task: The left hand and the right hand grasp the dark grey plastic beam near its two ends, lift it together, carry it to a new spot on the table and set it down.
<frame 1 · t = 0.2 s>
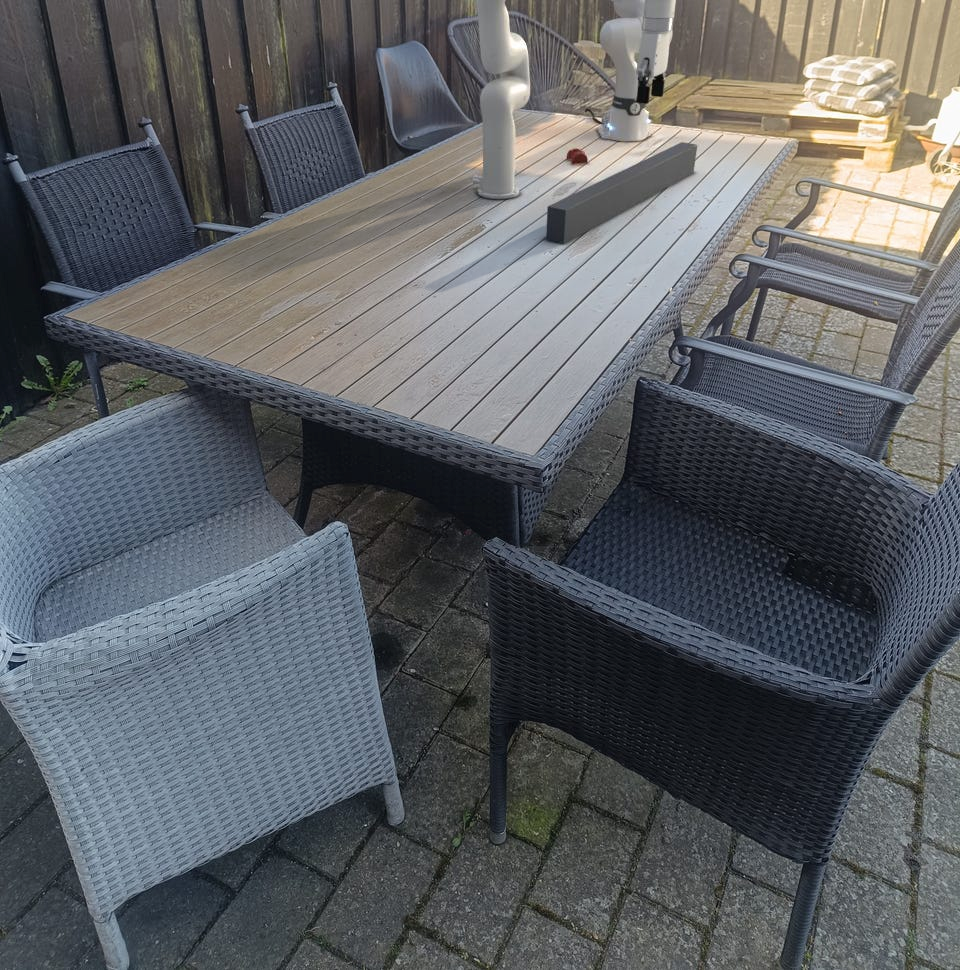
left hand: (649, 99, 219), 31 cm above the table, tool pointing down, fingers open, 9 cm apart
beam: (627, 202, 248), on the table
dark red rounded lump: (576, 162, 284), on the table
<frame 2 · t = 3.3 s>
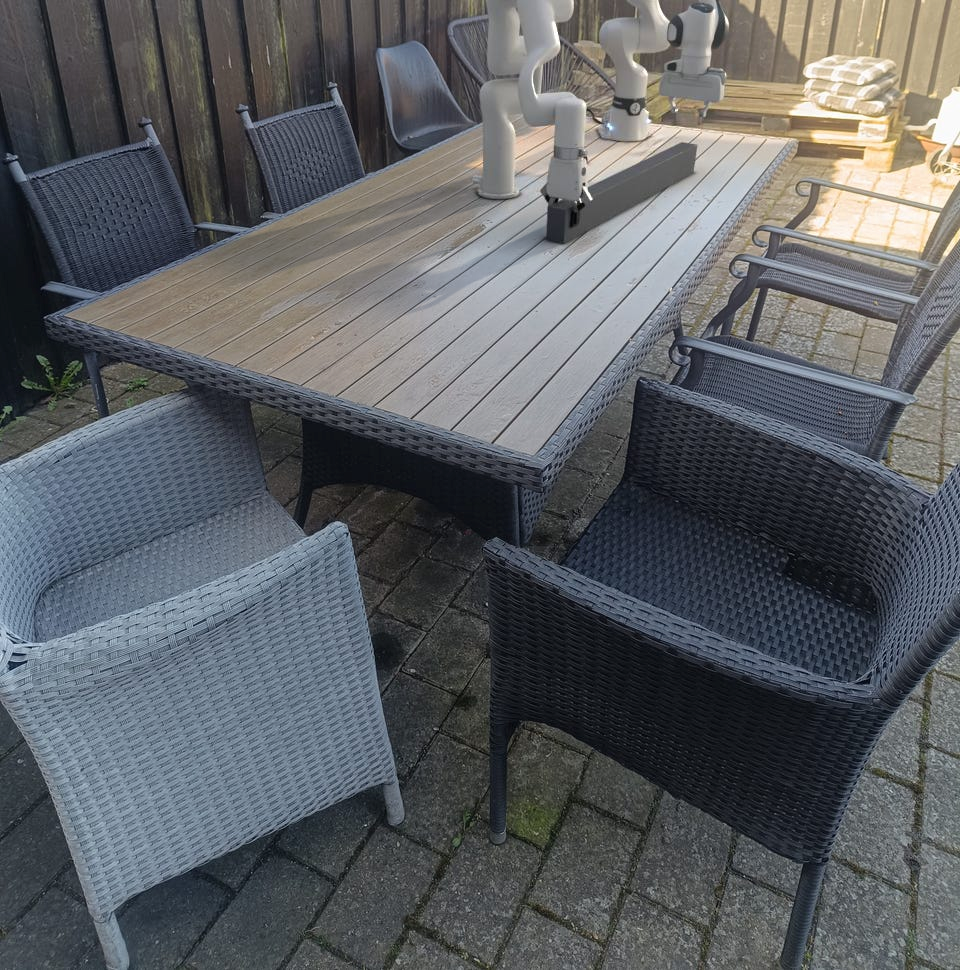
left hand: (564, 223, 222), 4 cm above the table, tool pointing down, fingers closed on beam, 5 cm apart
right hand: (688, 114, 261), 18 cm above the table, tool pointing down, fingers open, 8 cm apart
beam: (627, 202, 248), on the table, touching left hand
everything else where it was.
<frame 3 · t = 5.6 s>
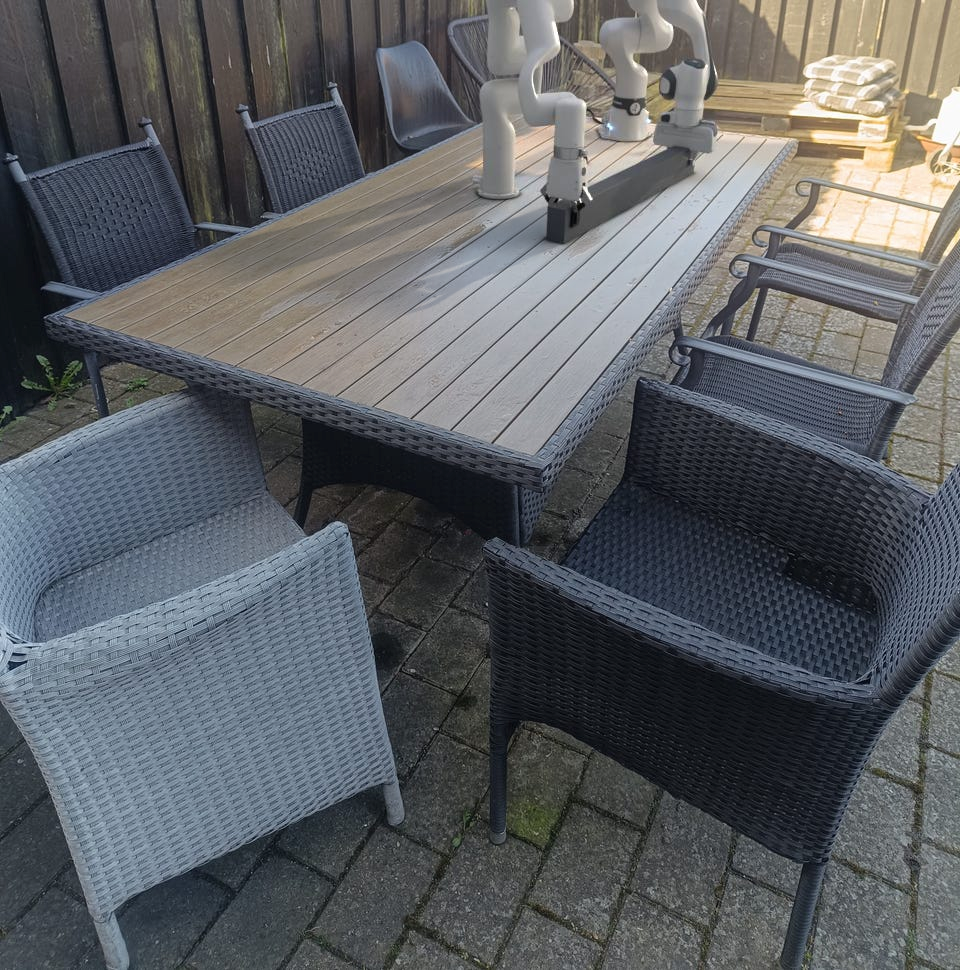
left hand: (564, 223, 222), 4 cm above the table, tool pointing down, fingers closed on beam, 5 cm apart
right hand: (681, 163, 270), 3 cm above the table, tool pointing down, fingers closed on beam, 5 cm apart
beam: (627, 202, 248), on the table, touching left hand, right hand
everything else where it was.
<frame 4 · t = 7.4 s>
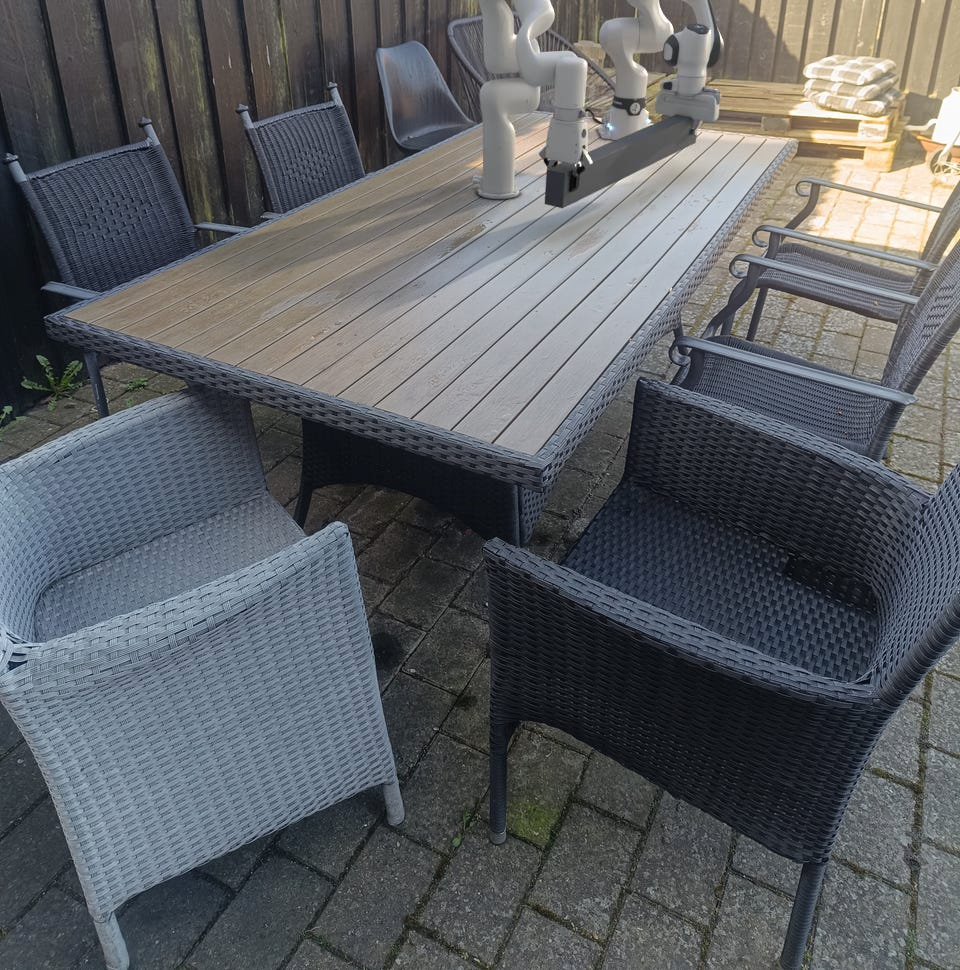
left hand: (563, 187, 217), 13 cm above the table, tool pointing down, fingers closed on beam, 5 cm apart
right hand: (683, 132, 265), 13 cm above the table, tool pointing down, fingers closed on beam, 5 cm apart
beam: (627, 170, 243), point 9 cm above the table, touching left hand, right hand
everything else where it was.
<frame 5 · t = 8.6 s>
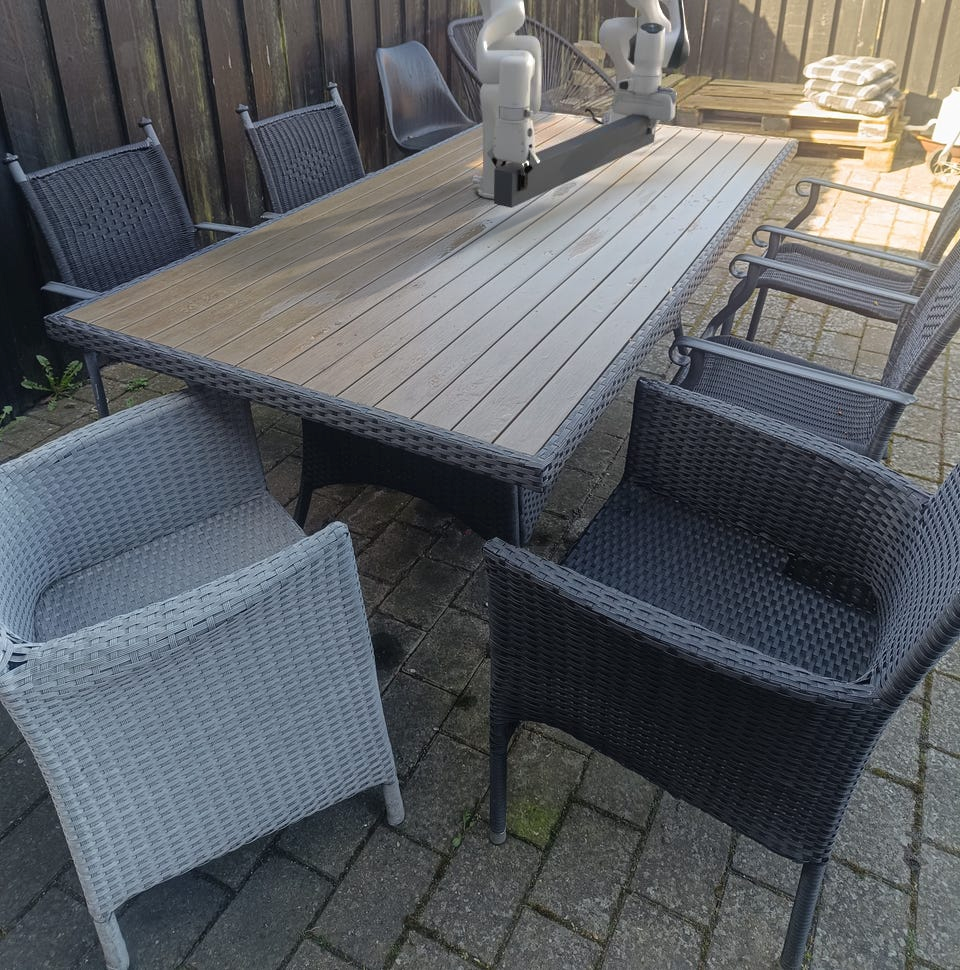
left hand: (512, 186, 217), 13 cm above the table, tool pointing down, fingers closed on beam, 5 cm apart
right hand: (641, 132, 265), 13 cm above the table, tool pointing down, fingers closed on beam, 5 cm apart
beam: (582, 169, 243), point 9 cm above the table, touching left hand, right hand
everything else where it was.
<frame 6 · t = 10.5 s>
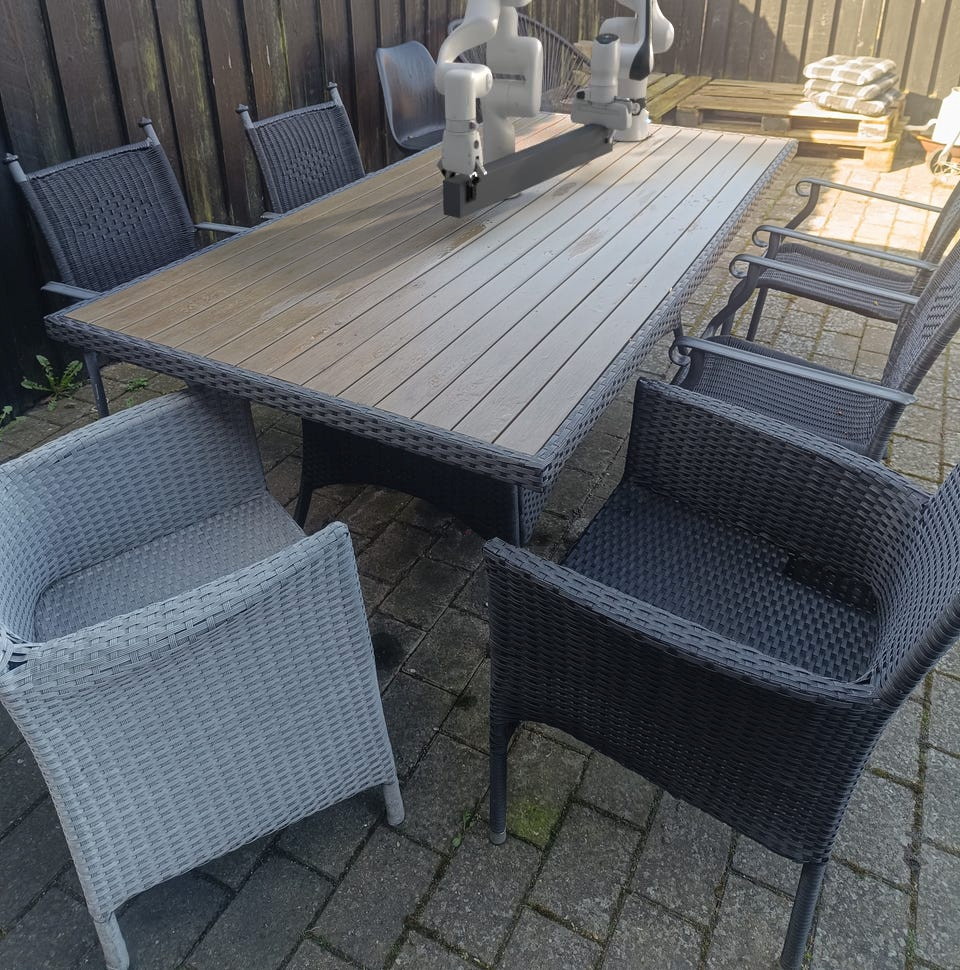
left hand: (461, 197, 219), 10 cm above the table, tool pointing down, fingers closed on beam, 5 cm apart
right hand: (599, 141, 267), 10 cm above the table, tool pointing down, fingers closed on beam, 5 cm apart
beam: (536, 179, 245), point 6 cm above the table, touching left hand, right hand
everything else where it was.
when the left hand's fingers open (4 cm above the table, at t = 11.7 s): beam stays where it is, on the table.
when the right hand's fingers open (4 cm above the table, at t = 11.8 s): beam stays where it is, on the table.
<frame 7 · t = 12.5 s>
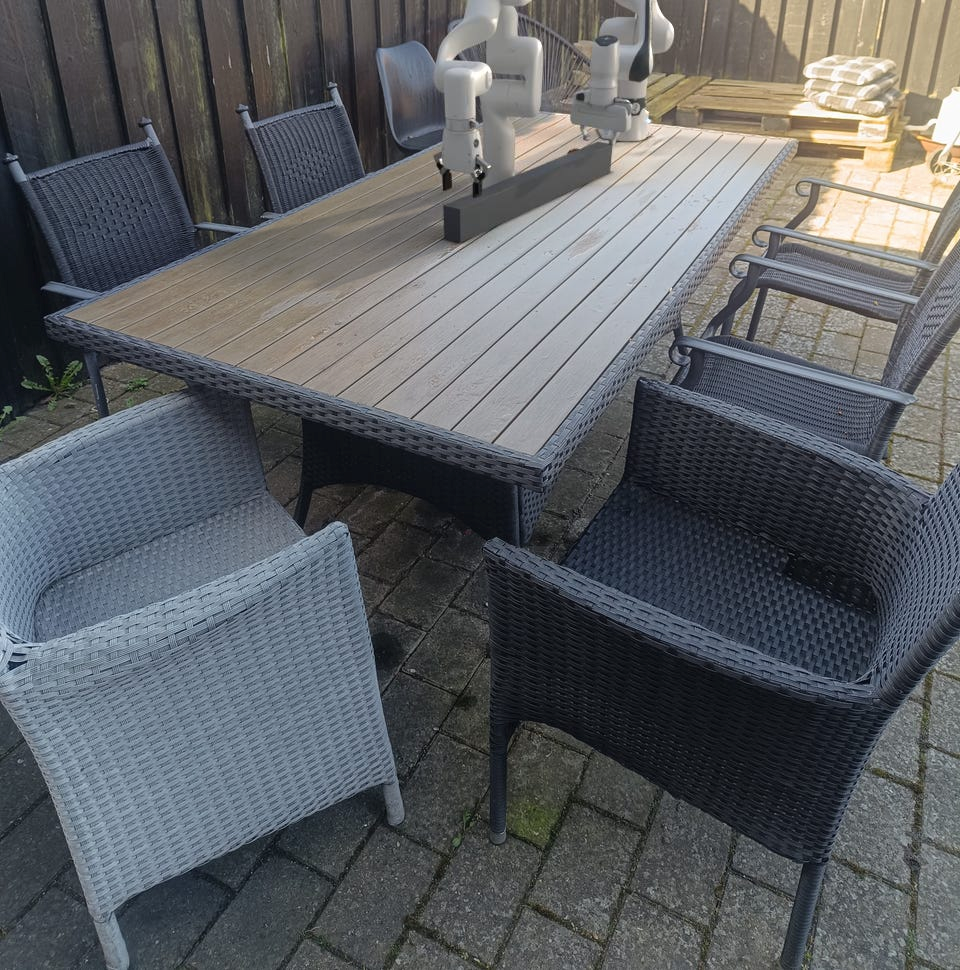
left hand: (462, 193, 219), 11 cm above the table, tool pointing down, fingers open, 9 cm apart
right hand: (598, 142, 267), 10 cm above the table, tool pointing down, fingers open, 8 cm apart
beam: (535, 202, 249), on the table
everything else where it was.
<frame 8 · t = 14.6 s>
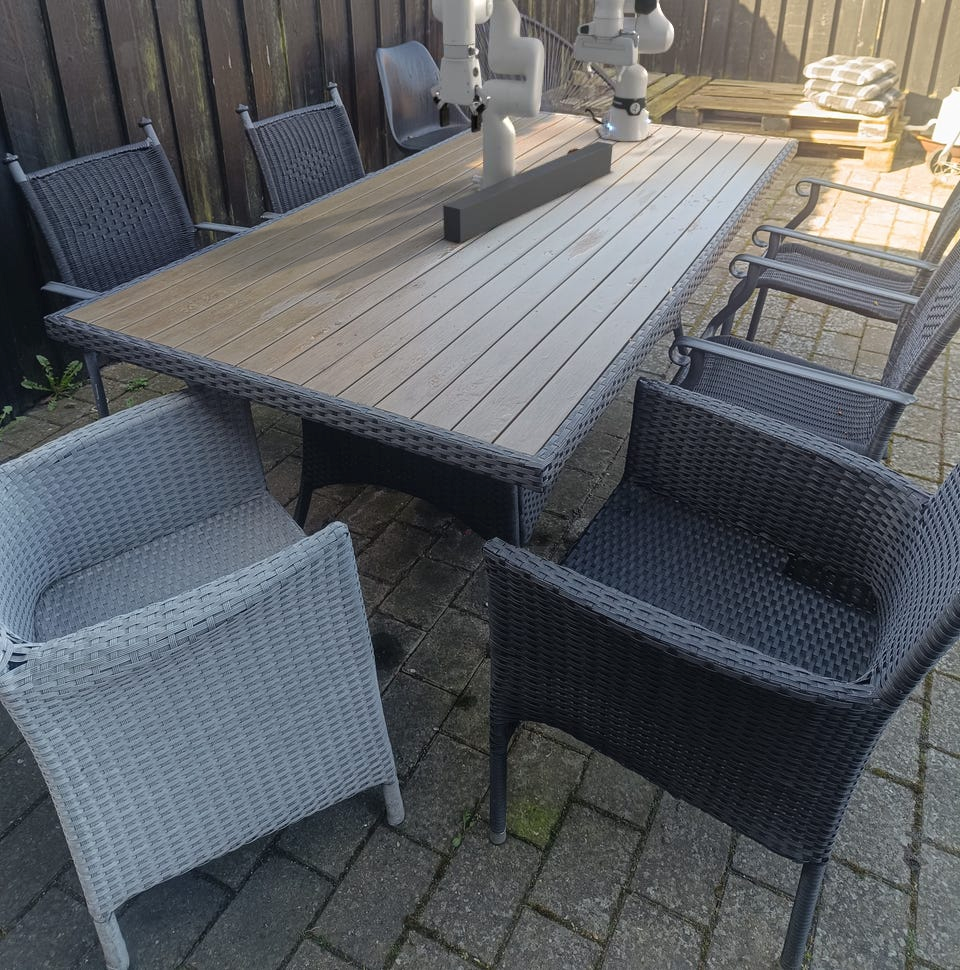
left hand: (460, 128, 209), 27 cm above the table, tool pointing down, fingers open, 9 cm apart
right hand: (603, 79, 256), 28 cm above the table, tool pointing down, fingers open, 8 cm apart
nothing on the table moved.
at the end: beam inside the target area (0.3 cm from its centre), on the table; beam tilted 0°; beam never tilted more than 2° during the clip; both hands held the beam at the same time; the left hand is holding nothing; the right hand is holding nothing; beam at rest at the end (0.0 cm/s) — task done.
